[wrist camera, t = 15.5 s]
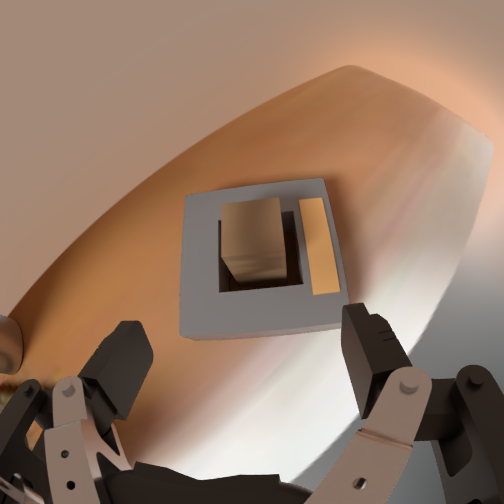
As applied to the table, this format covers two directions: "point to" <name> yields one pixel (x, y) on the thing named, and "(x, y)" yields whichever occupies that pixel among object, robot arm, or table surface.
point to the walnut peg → (254, 242)
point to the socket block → (268, 299)
